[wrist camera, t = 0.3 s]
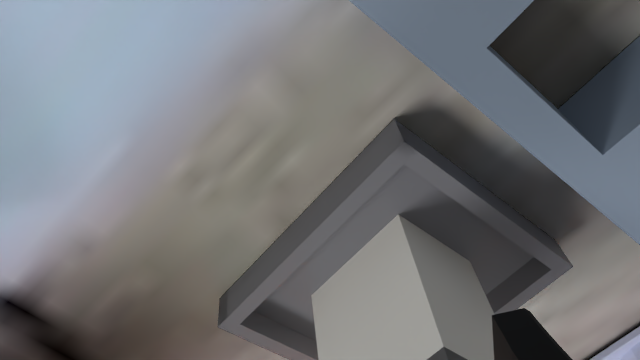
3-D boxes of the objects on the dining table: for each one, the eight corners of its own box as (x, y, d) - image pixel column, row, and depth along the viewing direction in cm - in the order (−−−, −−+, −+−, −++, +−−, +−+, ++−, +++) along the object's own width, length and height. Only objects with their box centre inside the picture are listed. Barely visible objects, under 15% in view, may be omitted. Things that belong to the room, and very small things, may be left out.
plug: (469, 261, 22) (545, 424, 16) (383, 333, 24) (423, 501, 18) (398, 214, 20) (454, 377, 15) (311, 295, 22) (330, 468, 17)
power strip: (861, 63, 19) (964, 108, 17) (638, 230, 23) (691, 290, 20) (491, -531, 11) (573, -643, 8) (225, -125, 14) (218, -106, 12)
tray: (556, 241, 23) (573, 266, 21) (383, 376, 27) (389, 404, 25) (393, 118, 19) (403, 141, 18) (219, 298, 23) (217, 327, 21)
